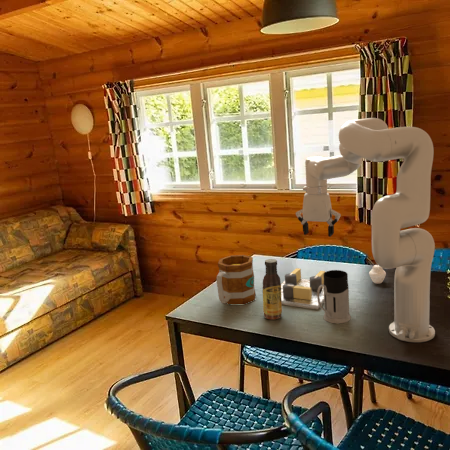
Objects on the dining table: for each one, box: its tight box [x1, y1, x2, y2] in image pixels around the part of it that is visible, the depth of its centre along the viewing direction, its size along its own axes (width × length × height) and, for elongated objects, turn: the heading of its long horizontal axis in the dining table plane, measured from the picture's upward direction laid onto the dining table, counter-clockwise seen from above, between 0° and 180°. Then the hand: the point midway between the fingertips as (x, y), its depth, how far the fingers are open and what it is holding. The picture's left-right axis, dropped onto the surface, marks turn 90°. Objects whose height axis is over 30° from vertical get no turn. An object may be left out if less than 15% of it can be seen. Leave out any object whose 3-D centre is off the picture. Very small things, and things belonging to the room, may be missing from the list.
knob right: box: [309, 270, 326, 291], centre depth 171 cm, size 10×4×4 cm, turn 149°
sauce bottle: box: [262, 258, 283, 321], centre depth 150 cm, size 6×6×20 cm
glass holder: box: [317, 269, 352, 324], centre depth 145 cm, size 9×14×15 cm, turn 133°
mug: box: [216, 254, 256, 305], centre depth 167 cm, size 20×14×15 cm
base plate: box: [281, 278, 324, 311], centre depth 169 cm, size 22×20×4 cm
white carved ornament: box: [368, 264, 387, 284], centre depth 173 cm, size 6×6×7 cm
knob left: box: [284, 267, 302, 286], centre depth 176 cm, size 10×4×4 cm, turn 149°
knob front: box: [283, 284, 312, 300], centre depth 162 cm, size 10×4×4 cm, turn 59°
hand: (318, 234), depth 171 cm, fingers open, 9 cm apart
